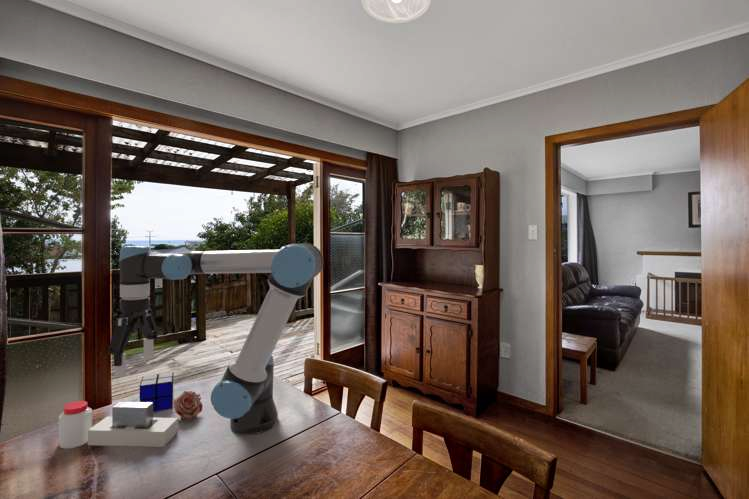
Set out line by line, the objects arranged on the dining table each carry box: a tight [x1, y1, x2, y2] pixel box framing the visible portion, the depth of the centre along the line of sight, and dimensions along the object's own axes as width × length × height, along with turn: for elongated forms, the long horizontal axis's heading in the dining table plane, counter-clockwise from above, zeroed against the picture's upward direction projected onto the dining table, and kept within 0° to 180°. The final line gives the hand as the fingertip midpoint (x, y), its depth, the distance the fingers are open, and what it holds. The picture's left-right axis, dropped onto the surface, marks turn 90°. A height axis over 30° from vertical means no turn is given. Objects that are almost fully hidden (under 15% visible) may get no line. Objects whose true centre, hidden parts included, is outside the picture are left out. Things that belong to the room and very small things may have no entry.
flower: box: [170, 390, 203, 421], centre depth 125 cm, size 10×9×8 cm
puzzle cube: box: [139, 371, 174, 413], centre depth 132 cm, size 10×10×10 cm
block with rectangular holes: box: [87, 416, 179, 448], centre depth 112 cm, size 22×8×4 cm, turn 91°
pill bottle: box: [58, 400, 93, 449], centre depth 109 cm, size 8×8×11 cm
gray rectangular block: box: [111, 401, 154, 429], centre depth 112 cm, size 10×4×10 cm, turn 91°
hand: (135, 367), depth 111 cm, fingers open, 13 cm apart
